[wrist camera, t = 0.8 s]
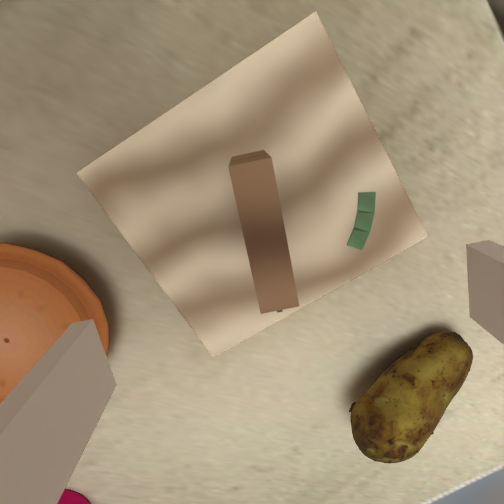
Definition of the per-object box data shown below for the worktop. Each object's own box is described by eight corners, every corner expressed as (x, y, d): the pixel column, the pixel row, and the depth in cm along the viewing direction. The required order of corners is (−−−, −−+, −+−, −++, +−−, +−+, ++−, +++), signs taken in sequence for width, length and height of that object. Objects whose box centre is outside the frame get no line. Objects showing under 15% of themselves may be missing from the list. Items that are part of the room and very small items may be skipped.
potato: (470, 381, 41) (523, 439, 33) (350, 425, 42) (375, 491, 34) (448, 313, 38) (500, 359, 31) (323, 362, 40) (342, 418, 32)
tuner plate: (83, 170, 33) (75, 173, 32) (312, 16, 31) (316, 10, 29) (214, 349, 39) (213, 358, 37) (420, 232, 36) (429, 237, 34)
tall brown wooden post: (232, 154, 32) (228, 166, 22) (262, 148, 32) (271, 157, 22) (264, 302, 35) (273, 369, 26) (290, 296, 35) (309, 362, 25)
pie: (-62, 357, 38) (-105, 389, 34) (-35, 208, 34) (-80, 220, 30) (96, 403, 40) (77, 439, 36) (139, 267, 36) (124, 288, 31)
